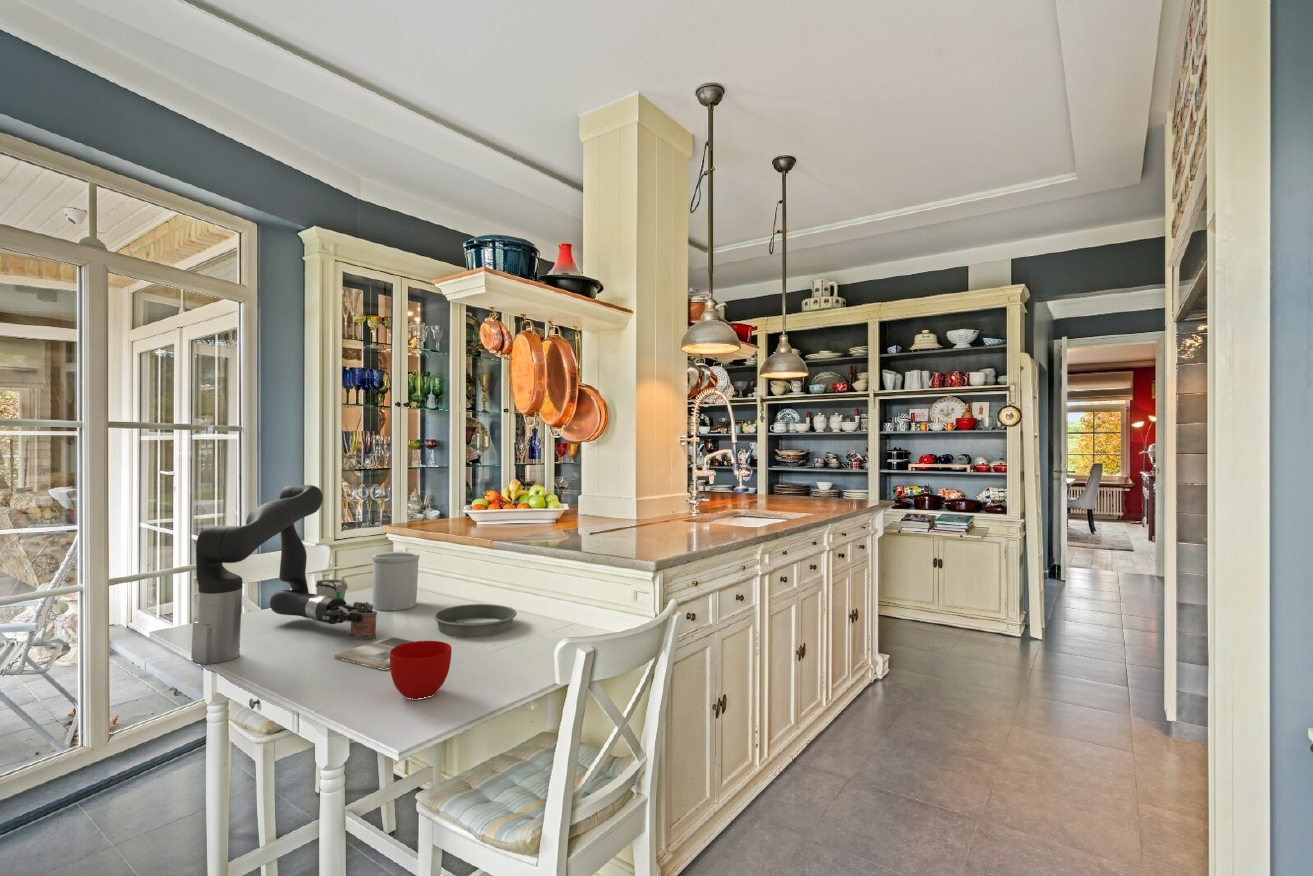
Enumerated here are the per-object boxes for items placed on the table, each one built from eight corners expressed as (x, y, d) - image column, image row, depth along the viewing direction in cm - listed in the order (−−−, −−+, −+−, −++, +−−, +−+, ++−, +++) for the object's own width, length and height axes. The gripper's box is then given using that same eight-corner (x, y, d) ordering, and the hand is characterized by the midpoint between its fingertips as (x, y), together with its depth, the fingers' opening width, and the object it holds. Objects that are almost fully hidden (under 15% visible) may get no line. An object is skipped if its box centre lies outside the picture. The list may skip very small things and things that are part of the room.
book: (384, 671, 156) (384, 665, 156) (334, 658, 164) (334, 653, 164) (439, 650, 172) (439, 646, 172) (391, 640, 180) (391, 635, 180)
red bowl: (434, 674, 154) (435, 633, 154) (458, 698, 141) (460, 652, 141) (377, 685, 146) (378, 641, 147) (397, 711, 133) (398, 662, 133)
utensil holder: (365, 604, 218) (366, 553, 218) (409, 598, 228) (410, 549, 228) (378, 613, 207) (380, 559, 207) (424, 607, 216) (426, 555, 217)
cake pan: (532, 629, 196) (532, 614, 196) (459, 645, 178) (459, 629, 178) (488, 613, 213) (489, 599, 213) (418, 626, 195) (418, 611, 195)
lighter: (378, 637, 182) (380, 602, 182) (370, 641, 178) (371, 605, 179) (355, 634, 184) (356, 599, 184) (346, 638, 181) (347, 602, 181)
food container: (354, 613, 206) (356, 582, 206) (336, 617, 201) (337, 585, 201) (332, 607, 213) (334, 577, 213) (314, 611, 208) (316, 580, 208)
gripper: (304, 601, 182) (345, 609, 174) (347, 591, 195) (387, 599, 187) (303, 627, 182) (344, 636, 174) (346, 616, 194) (387, 624, 187)
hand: (366, 617), depth 181 cm, fingers closed on lighter, 3 cm apart
